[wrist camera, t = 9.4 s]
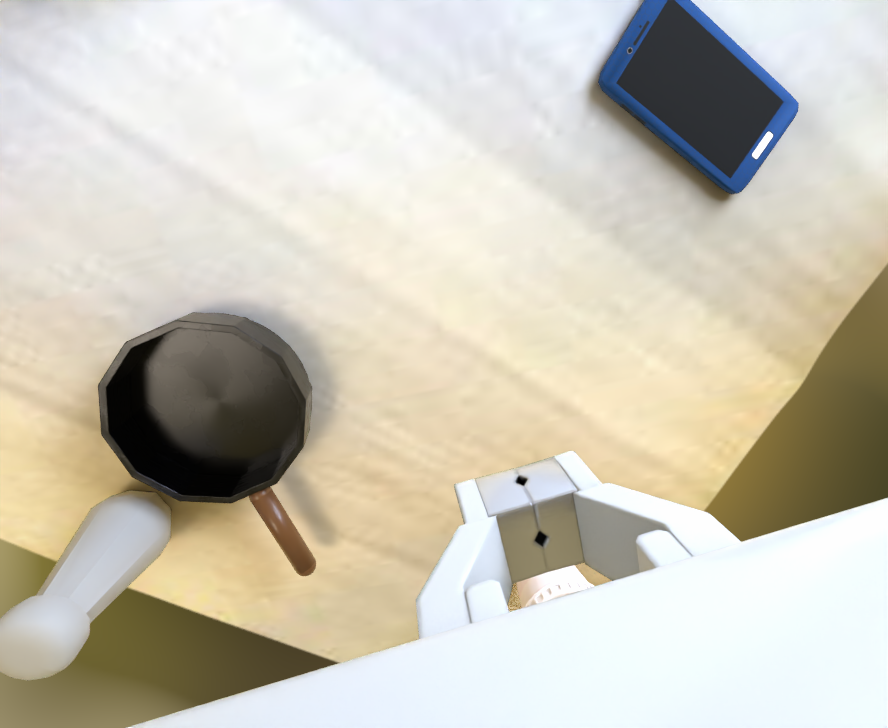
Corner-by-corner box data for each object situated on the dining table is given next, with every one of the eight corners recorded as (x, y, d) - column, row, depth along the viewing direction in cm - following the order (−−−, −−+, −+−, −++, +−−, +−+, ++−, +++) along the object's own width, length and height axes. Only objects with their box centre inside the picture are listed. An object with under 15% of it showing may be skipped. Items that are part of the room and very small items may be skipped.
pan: (89, 357, 33) (55, 372, 30) (259, 283, 33) (244, 290, 30) (244, 580, 40) (231, 613, 36) (385, 518, 40) (386, 545, 36)
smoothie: (568, 555, 43) (652, 703, 30) (502, 578, 43) (556, 736, 30) (553, 498, 41) (636, 628, 28) (484, 521, 41) (534, 663, 28)
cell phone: (732, 198, 36) (739, 198, 35) (591, 84, 32) (596, 80, 31) (795, 108, 34) (804, 105, 34) (656, -22, 31) (663, -28, 30)
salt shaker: (112, 548, 37) (-22, 708, 25) (92, 484, 36) (-61, 622, 23) (189, 539, 38) (96, 690, 25) (174, 475, 36) (66, 605, 24)
